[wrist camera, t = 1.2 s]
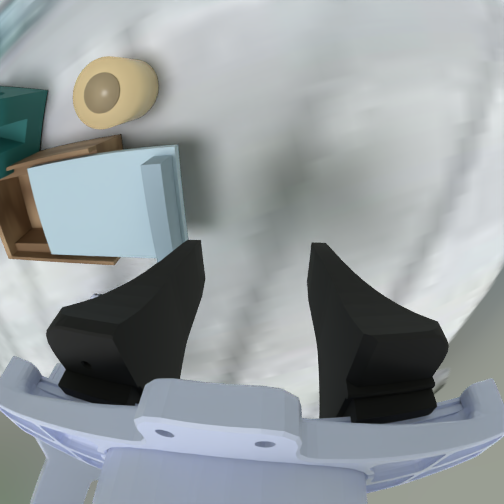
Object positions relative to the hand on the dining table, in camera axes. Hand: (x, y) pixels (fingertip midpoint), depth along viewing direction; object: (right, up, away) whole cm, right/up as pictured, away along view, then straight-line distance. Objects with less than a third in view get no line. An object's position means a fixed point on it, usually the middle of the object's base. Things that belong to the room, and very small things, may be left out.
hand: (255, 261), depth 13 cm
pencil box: (-17, +6, +10) cm, 21 cm away
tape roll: (-9, +13, +5) cm, 17 cm away
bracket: (-27, +15, +5) cm, 32 cm away
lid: (-11, +4, +6) cm, 13 cm away
